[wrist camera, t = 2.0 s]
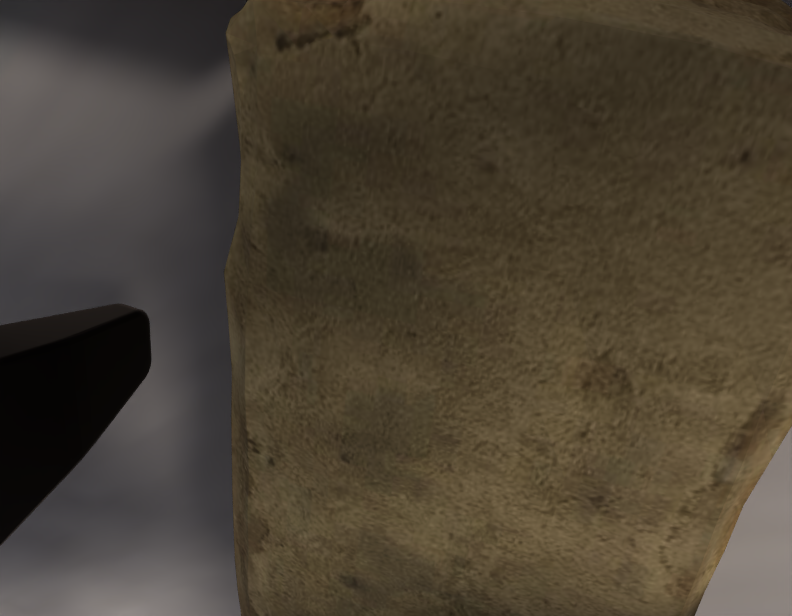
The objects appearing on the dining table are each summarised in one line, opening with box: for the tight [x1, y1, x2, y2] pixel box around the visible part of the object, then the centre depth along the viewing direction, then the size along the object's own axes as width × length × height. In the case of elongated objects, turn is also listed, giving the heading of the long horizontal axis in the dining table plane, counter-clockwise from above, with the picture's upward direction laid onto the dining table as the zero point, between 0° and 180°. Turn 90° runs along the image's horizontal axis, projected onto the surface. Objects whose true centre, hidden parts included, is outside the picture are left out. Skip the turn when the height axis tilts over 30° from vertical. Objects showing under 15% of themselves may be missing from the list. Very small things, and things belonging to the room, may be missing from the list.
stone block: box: [224, 0, 792, 616], centre depth 9 cm, size 6×12×5 cm, turn 175°
